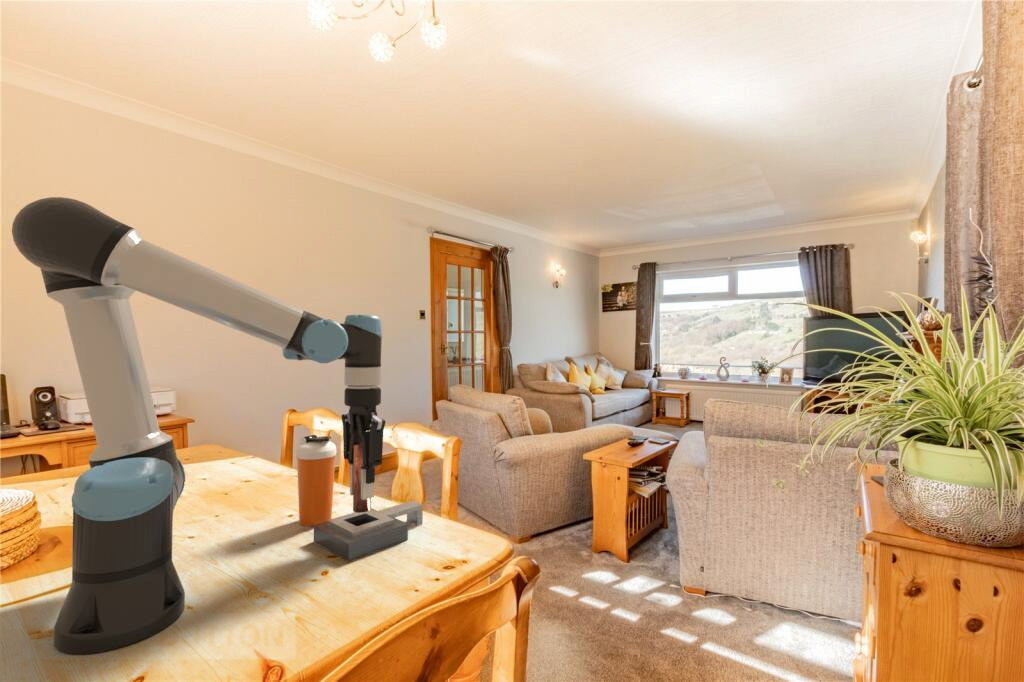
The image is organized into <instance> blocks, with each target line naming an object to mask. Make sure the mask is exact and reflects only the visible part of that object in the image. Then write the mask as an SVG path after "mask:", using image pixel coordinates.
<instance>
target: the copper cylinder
mask: <svg viewBox="0 0 1024 682" xmlns="http://www.w3.org/2000/svg"><path fill="white" fill-rule="evenodd" d="M361 466H364V463H363V452H362V443H357V444H354V473H353V495H352V502H353V503H352V511H353V513H354V512H357V513H362V512H367V511H369V510H370V509H371V508H372V507H371V506H372V505H371V504H372V501H371V500H372V498H368V499H364V500H362V499H361Z"/></svg>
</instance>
